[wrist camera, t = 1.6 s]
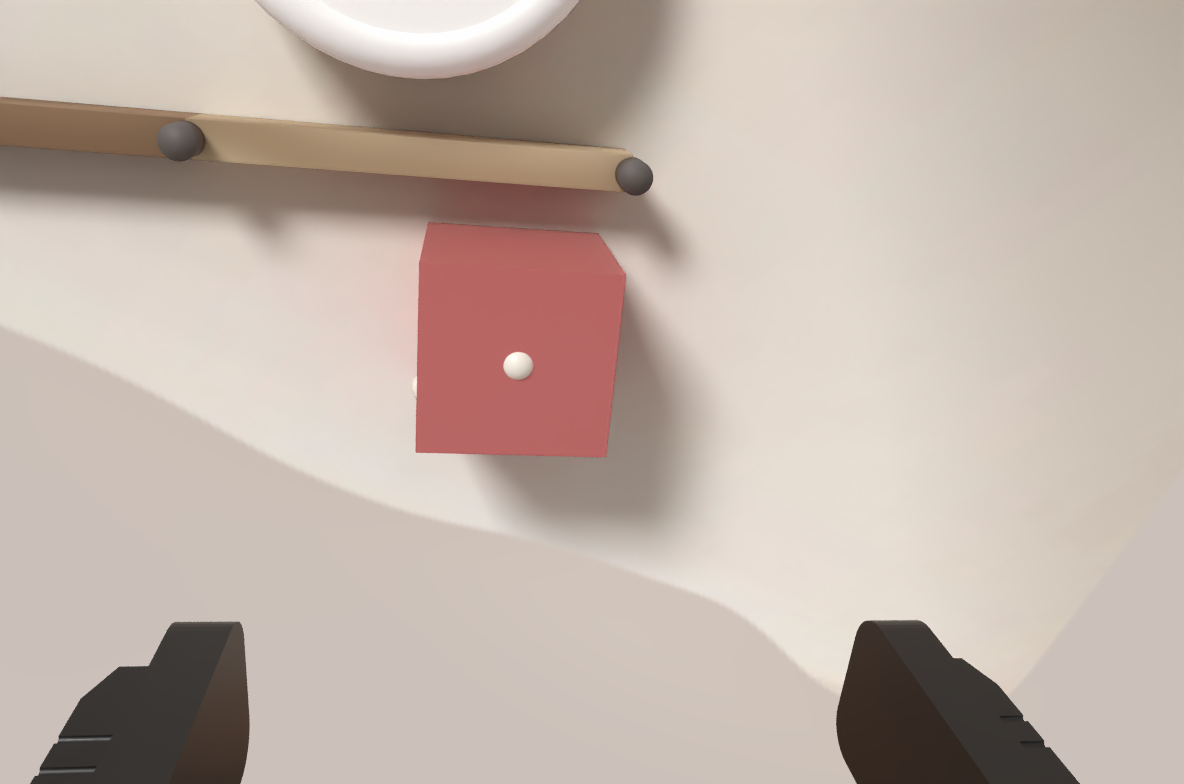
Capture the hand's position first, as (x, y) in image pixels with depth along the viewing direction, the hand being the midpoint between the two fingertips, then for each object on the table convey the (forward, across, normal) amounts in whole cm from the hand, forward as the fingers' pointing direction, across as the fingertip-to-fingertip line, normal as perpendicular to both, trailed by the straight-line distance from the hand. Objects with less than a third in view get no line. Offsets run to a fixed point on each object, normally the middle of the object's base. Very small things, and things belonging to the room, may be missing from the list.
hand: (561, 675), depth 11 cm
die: (+16, 0, 0) cm, 16 cm away
